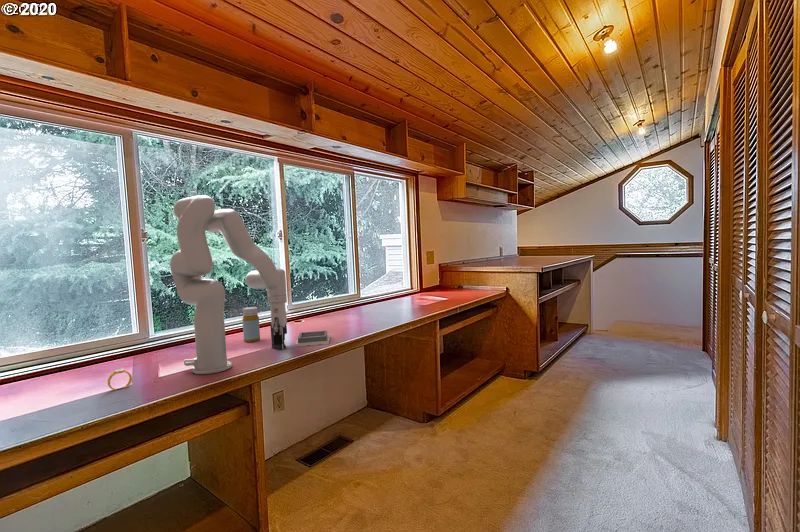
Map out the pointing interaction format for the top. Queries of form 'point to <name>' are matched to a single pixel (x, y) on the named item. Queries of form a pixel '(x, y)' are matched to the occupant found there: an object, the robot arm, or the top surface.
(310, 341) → the dock
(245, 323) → the bottle
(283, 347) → the battery
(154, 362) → the top surface
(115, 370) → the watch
